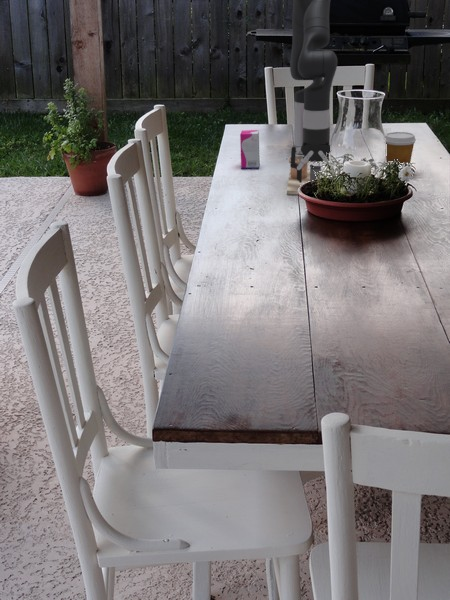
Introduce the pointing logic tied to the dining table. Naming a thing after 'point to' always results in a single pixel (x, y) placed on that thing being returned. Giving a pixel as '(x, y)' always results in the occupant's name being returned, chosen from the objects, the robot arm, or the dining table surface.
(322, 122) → the robot arm
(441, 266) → the dining table surface
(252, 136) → the supplement box
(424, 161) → the dining table surface
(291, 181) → the birch board
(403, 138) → the disposable coffee cup
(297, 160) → the terracotta pot
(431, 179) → the dining table surface
